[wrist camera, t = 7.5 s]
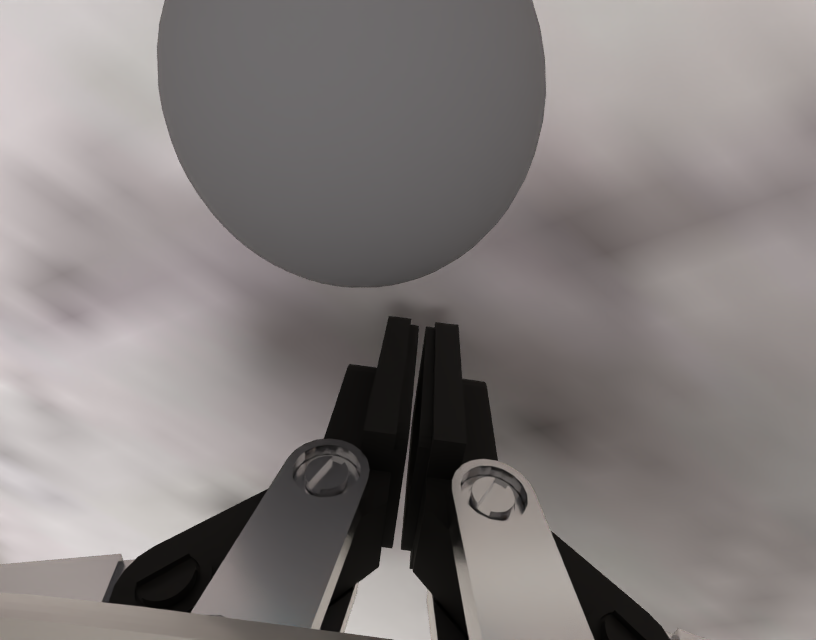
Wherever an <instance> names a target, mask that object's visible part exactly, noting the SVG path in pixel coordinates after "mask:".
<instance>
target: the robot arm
mask: <svg viewBox="0 0 816 640" xmlns="http://www.w3.org/2000/svg"><path fill="white" fill-rule="evenodd" d="M410 323H411V319H408V318H400V317H393V316H389V318H388V322H387V327H386V331H385V335H384V340H383V344H382V349H381V353H380V357H379V362H378V366H377V368H375V367H367V366H360V365H352V364H350V365H349V366H348V368H347V371H346V374H345V377H344V380H343V383H342V386H341V389H340V392H339V395H338V398H337V401H336V404H335V407H334V410H333V413H332V416H331V419H330V422H329V425H328V428H327V431H326V434H325V437H324V439H320V440H315V441H312V442H309V443H306V444H304V445H302V446H301V447H299V448H298V449H296V450H295V451H294V452H293V453H292V454H291V455H290V456H289V457H288V459H287V460H286V462H285V463H284V465H283V466H282V468H281V470H280V471H279V473H278V474H277V476H276V478H275V479H274V481H273V482H272V484H271V486H270V487H269V489H267V490H265V491H263V492H261V493H259V494H257V495H255V496H253V497H251V498H249V499H247V500H245V501H243V502H241V503H239V504H237V505H235V506H233V507H231V508H229V509H227V510H225V511H223V512H221V513H219V514H217V515H215V516H213V517H211V518H209V519H207V520H205V521H203V522H201V523H199V524H198V525H196V526H194V527H192V528H190V529H188V530H186V531H184V532H182V533H180V534H178V535H176V536H174V537H172V538H170V539H168V540H166V541H164V542H162V543H160V544H158V545H156V546H154V547H153V548H151V549H149V550H148V551H146V552H145V553H143V554H142V555H140V556H138V557H137V558H136V559H135V560H124V561H123V558H122V555H121V554H113V555H102V556H90V557H79V558H68V559H56V560H45V561H33V562H22V563H11V564H0V640H392V639H385V638H377V637H370V636H362V635H355V634H347V633H344V632H345V629H346V626H347V623H348V619H349V616H350V613H351V610H352V607H353V604H354V601H355V598H356V594H357V590H358V584H359V581H361V580H362V579H363V578H365V577H366V576H367V575H369V574H370V573H371V572H373V571H374V570H375V569H377V568H378V567H379V562H380V555H381V547H386V548H392V547H393V540H394V534H395V527H396V520H397V513H398V507H399V500H400V493H401V487H402V480H403V473H404V466H405V460H406V453H407V446H408V438H409V430H410V420H411V409H412V398H413V387H414V376H415V366H416V355H417V344H418V333H419V326H417V325H410ZM401 550H408V551H411V554H410V569H413V572H414V573H415V575H416V576H417V577H418V578H419V579H420V581H421V582H422V583H423V584H424V585H425V586H426V588H427V608H428V617H429V626H430V635H431V640H708V639H706V638H703V637H700V636H697V635H695V634H692V633H689V632H686V631H684V630H681V629H677V630H676V631H675V633H674V634H671V633H668V632H666V631H664V629H663V628H662V626H661V625H660V624H659V623H658V622H657V621H656V620H655V619H654V618H653V617H652V616H651V615H650V614H649V613H648V612H647V611H645V610H644V609H643V608H642V607H641V606H639V605H638V604H637V603H636V602H635V601H634V600H632V599H631V598H630V597H629V596H628V595H626V594H625V593H624V592H623V591H622V590H621V589H619V588H618V587H617V586H616V585H615V584H613V583H612V582H611V581H610V580H609V579H607V578H606V577H605V576H604V575H603V574H602V573H600V572H599V571H598V570H597V569H596V568H594V567H593V566H592V565H591V564H590V563H589V562H587V561H586V560H585V559H584V558H583V557H581V556H580V555H579V554H578V553H577V552H576V551H574V550H573V549H572V548H571V547H570V546H568V545H567V544H566V543H565V542H564V541H562V540H561V539H560V538H559V537H558V536H557V535H555V534H554V533H553V532H552V531H551V530H550V528H549V526H548V523H547V521H546V518H545V516H544V513H543V511H542V508H541V506H540V503H539V501H538V498H537V496H536V493H535V491H534V489H533V488H532V486H531V484H530V483H529V481H528V480H527V479H526V478H525V477H524V476H523V475H522V474H521V473H520V472H519V471H517V470H515V469H514V468H512V467H511V466H509V465H507V464H504V463H502V462H499V461H498V458H497V452H496V445H495V438H494V432H493V425H492V418H491V411H490V405H489V398H488V391H487V386H486V383H485V382H482V381H475V380H467V379H462V370H461V356H460V342H459V327H458V325H454V324H447V323H439V322H436V323H435V327H434V328H432V327H426V331H425V337H424V344H423V350H422V357H421V364H420V371H419V377H418V384H417V391H416V397H415V404H414V411H413V418H412V427H411V438H410V449H409V460H408V472H407V483H406V495H405V506H404V517H403V529H402V540H401Z"/></svg>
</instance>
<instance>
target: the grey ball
mask: <svg viewBox="0 0 816 640" xmlns="http://www.w3.org/2000/svg"><path fill="white" fill-rule="evenodd" d="M157 60H158V86H159V93H160V99H161V105H162V110H163V114H164V118H165V121H166V125H167V128H168V132H169V135H170V138H171V141H172V144H173V147H174V149H175V152H176V154H177V157H178V159H179V162H180V164H181V166H182V168H183V169H184V171H185V173H186V175H187V177H188V179H189V181H190V182H191V184H192V185H193V187H194V189H195V190H196V192H197V193H198V195H199V196H200V198H201V199H202V200H203V202H204V203H205V204H206V206H207V207H208V208H209V210H210V211H211V212H212V214H213V215H214V216H215V217H216V218H217V219H218V220H219V222H220V223H221V224H222V225H223V226H224V227H225V228H226V229H227V230H228V231H229V232H230V233H231V234H232V235H233V236H234V237H235V238H236V239H238V240H239V241H240V242H241V243H243V244H244V245H245V246H246V247H247V248H249V249H250V250H252V251H253V252H254V253H256V254H257V255H259V256H260V257H262V258H263V259H265V260H267V261H268V262H270V263H272V264H273V265H275V266H277V267H279V268H282V269H284V270H286V271H288V272H290V273H293V274H295V275H298V276H301V277H303V278H306V279H309V280H312V281H316V282H319V283H323V284H328V285H334V286H341V287H352V288H353V287H382V286H390V285H395V284H399V283H403V282H407V281H411V280H414V279H417V278H420V277H423V276H425V275H428V274H430V273H433V272H435V271H437V270H439V269H440V268H442V267H444V266H446V265H448V264H449V263H451V262H453V261H454V260H456V259H458V258H459V257H461V256H462V255H463V254H465V253H466V252H467V251H469V250H470V249H471V248H473V247H474V246H475V245H476V244H477V243H478V242H479V241H480V240H481V239H482V238H483V237H484V236H485V235H486V234H487V233H488V232H489V231H490V230H491V229H492V228H493V227H494V226H495V225H496V224H497V223H498V221H499V220H500V218H501V217H502V216H503V214H504V213H505V212H506V210H507V209H508V208H509V206H510V205H511V203H512V201H513V200H514V198H515V196H516V194H517V193H518V191H519V189H520V187H521V185H522V183H523V182H524V180H525V178H526V175H527V173H528V170H529V168H530V165H531V162H532V160H533V157H534V154H535V151H536V147H537V143H538V139H539V135H540V131H541V127H542V122H543V116H544V106H545V96H546V82H545V57H544V50H543V44H542V37H541V31H540V26H539V22H538V19H537V15H536V12H535V8H534V5H533V1H532V0H165V2H164V6H163V10H162V15H161V19H160V23H159V33H158V43H157Z"/></svg>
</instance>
